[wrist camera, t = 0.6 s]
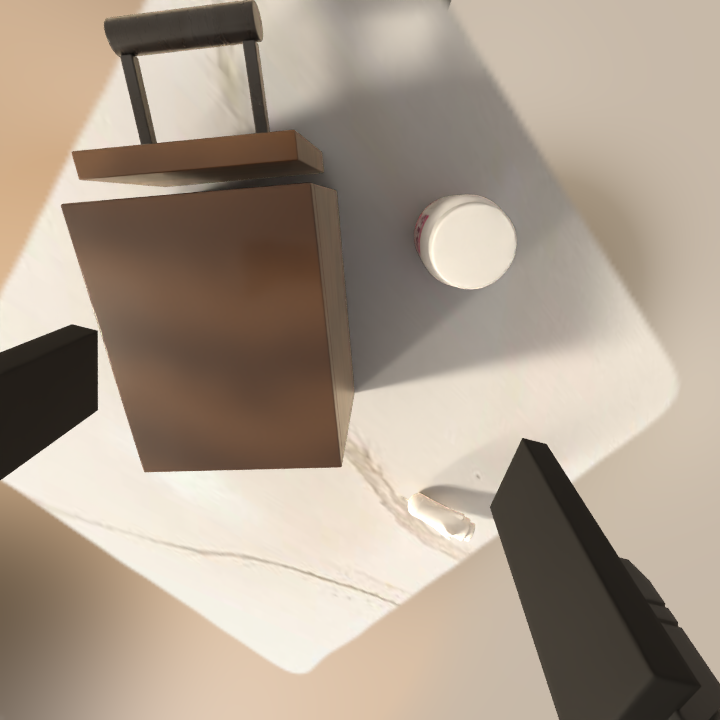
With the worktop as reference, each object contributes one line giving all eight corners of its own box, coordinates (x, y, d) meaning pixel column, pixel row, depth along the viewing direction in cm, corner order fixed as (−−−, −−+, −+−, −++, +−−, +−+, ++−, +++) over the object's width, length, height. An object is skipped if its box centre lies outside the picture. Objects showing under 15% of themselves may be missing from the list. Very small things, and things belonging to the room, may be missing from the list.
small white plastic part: (430, 469, 34) (434, 494, 31) (475, 514, 35) (483, 542, 32) (397, 492, 35) (398, 518, 32) (442, 535, 36) (447, 564, 33)
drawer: (135, 58, 24) (24, -7, 16) (311, 37, 23) (275, -42, 16) (204, 364, 30) (147, 414, 23) (342, 357, 30) (327, 407, 22)
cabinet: (166, 204, 27) (59, 204, 18) (337, 190, 26) (310, 182, 17) (210, 399, 33) (143, 472, 24) (354, 393, 32) (341, 468, 23)
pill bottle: (403, 211, 27) (410, 214, 19) (475, 184, 26) (514, 175, 18) (424, 280, 28) (439, 310, 20) (493, 257, 27) (536, 278, 19)
